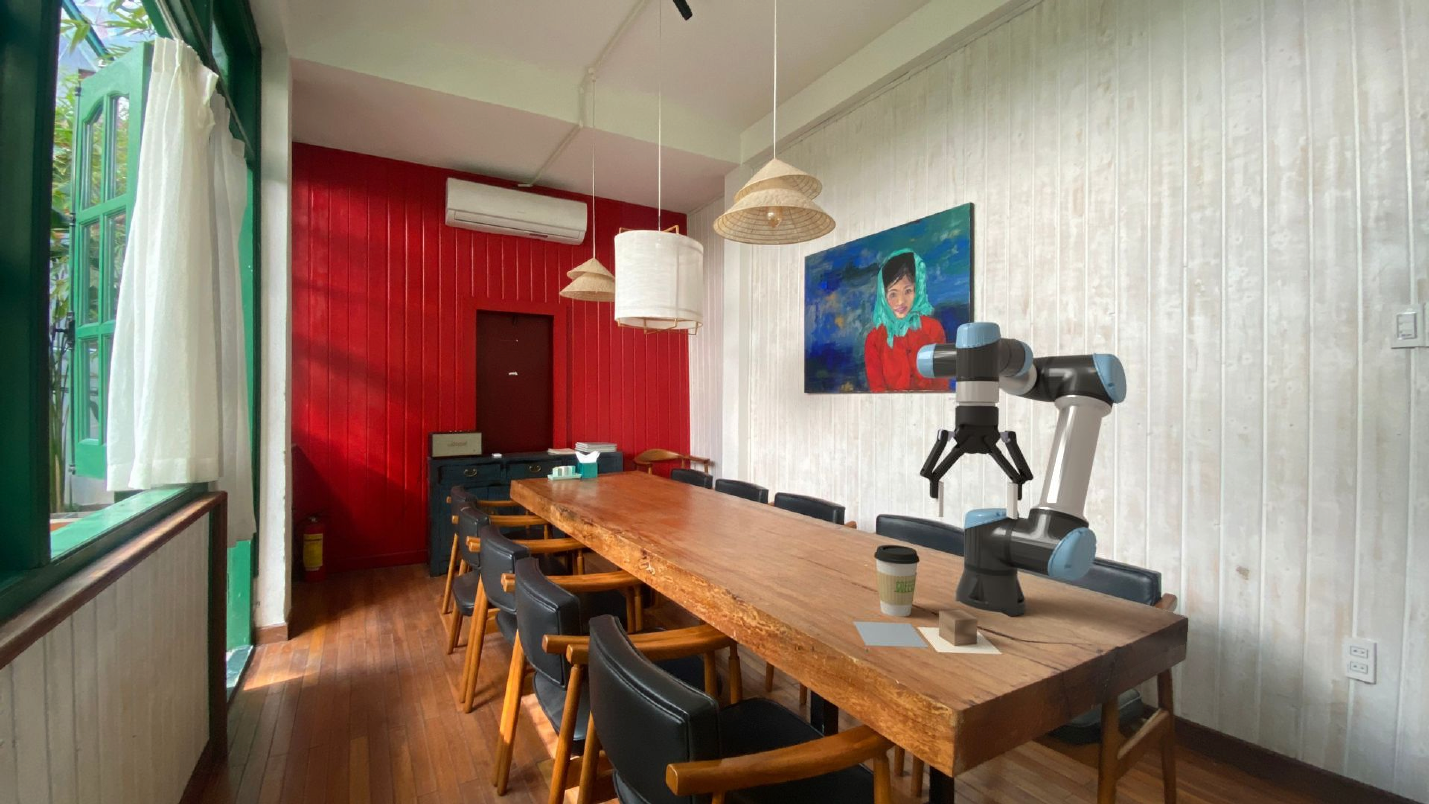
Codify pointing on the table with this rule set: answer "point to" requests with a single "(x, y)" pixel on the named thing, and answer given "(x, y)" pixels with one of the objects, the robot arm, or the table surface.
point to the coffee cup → (896, 578)
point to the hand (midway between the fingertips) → (975, 516)
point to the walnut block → (958, 627)
